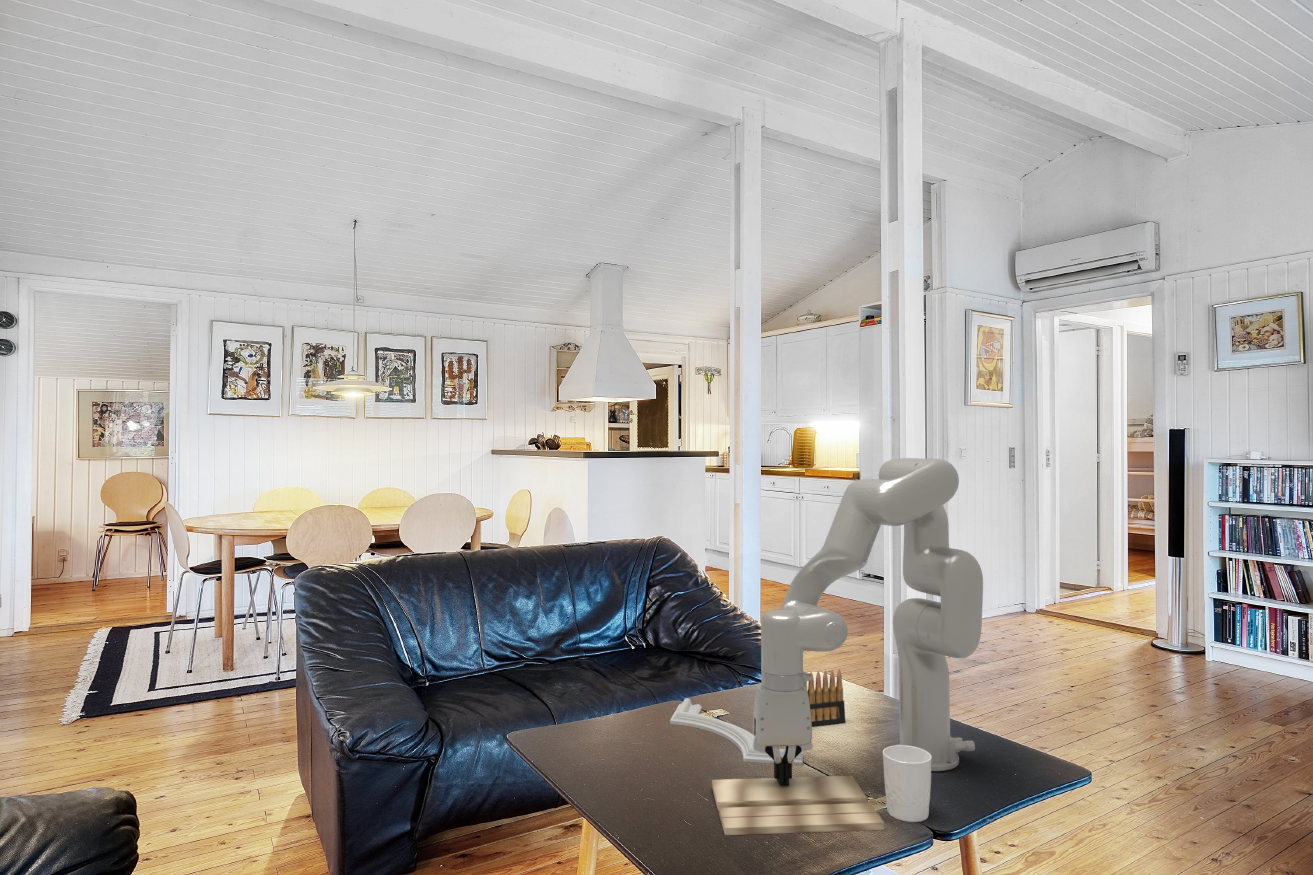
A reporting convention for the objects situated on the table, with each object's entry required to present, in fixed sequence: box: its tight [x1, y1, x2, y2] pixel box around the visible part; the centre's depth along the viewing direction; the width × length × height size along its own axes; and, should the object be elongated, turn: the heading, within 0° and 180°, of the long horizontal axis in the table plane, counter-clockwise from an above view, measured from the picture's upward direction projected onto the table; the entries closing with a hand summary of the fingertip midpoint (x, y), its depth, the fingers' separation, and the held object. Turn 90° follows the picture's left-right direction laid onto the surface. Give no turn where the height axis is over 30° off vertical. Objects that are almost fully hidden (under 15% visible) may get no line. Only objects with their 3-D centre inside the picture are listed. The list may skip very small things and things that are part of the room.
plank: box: [711, 775, 869, 812], centre depth 136 cm, size 26×9×1 cm, turn 93°
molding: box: [669, 697, 804, 767], centre depth 167 cm, size 42×12×3 cm, turn 33°
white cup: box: [882, 744, 932, 823], centre depth 131 cm, size 8×8×10 cm
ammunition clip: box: [804, 668, 846, 728], centre depth 173 cm, size 11×2×12 cm, turn 106°
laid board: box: [718, 802, 885, 836], centre depth 127 cm, size 26×7×1 cm, turn 93°
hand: (782, 782), depth 139 cm, fingers closed
